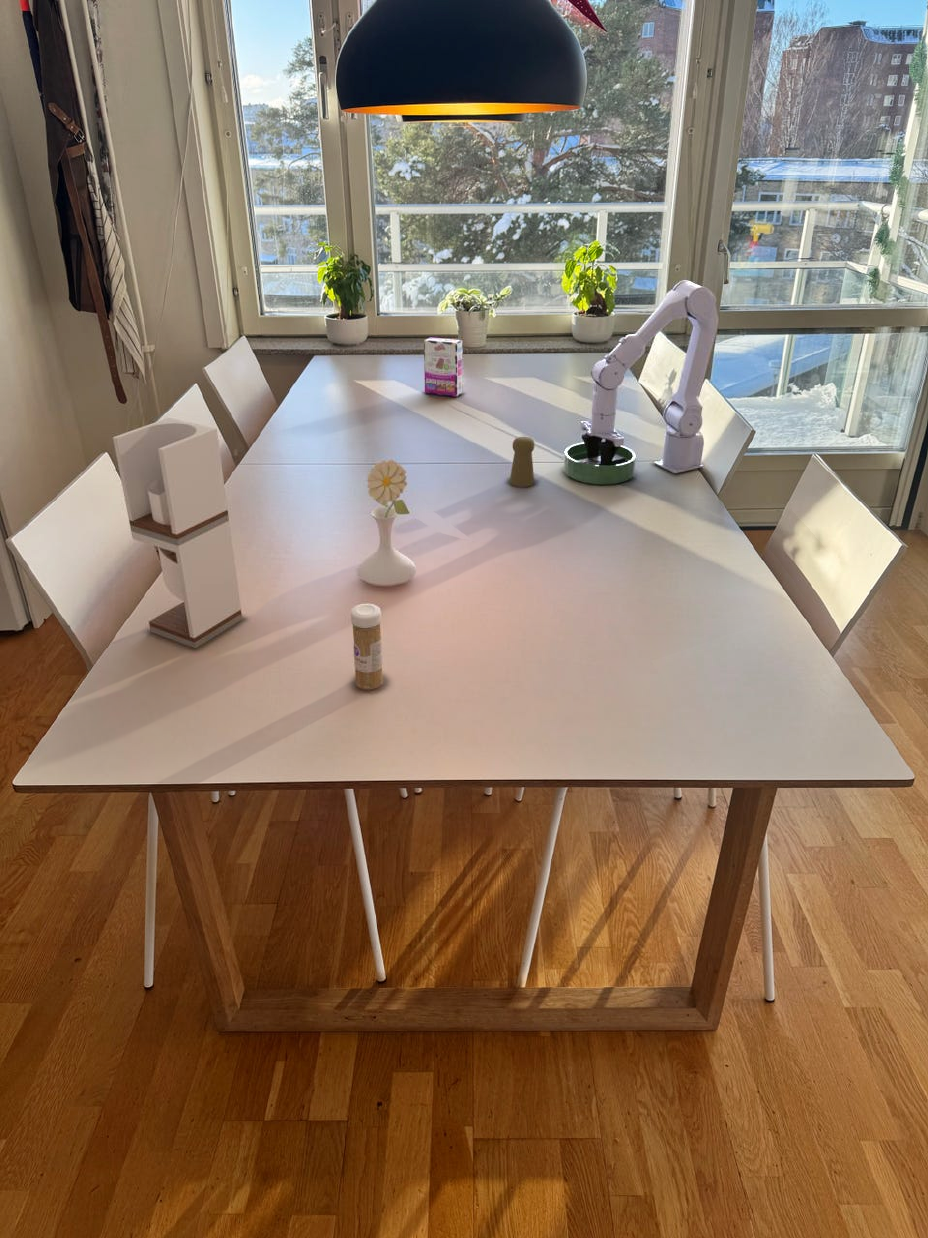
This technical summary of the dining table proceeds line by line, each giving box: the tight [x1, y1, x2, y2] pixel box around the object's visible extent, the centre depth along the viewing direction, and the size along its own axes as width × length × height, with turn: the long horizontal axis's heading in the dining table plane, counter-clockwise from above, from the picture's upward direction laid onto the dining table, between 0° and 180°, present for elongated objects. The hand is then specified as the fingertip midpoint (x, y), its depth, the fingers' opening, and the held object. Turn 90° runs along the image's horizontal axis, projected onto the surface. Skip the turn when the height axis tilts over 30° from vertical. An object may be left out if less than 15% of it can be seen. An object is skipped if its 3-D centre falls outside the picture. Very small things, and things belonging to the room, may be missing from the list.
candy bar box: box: [423, 336, 464, 398], centre depth 277 cm, size 11×5×16 cm, turn 67°
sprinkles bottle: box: [350, 603, 384, 691], centre depth 140 cm, size 5×5×13 cm
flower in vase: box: [356, 459, 417, 588], centre depth 167 cm, size 13×11×25 cm
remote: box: [577, 454, 625, 465], centre depth 222 cm, size 12×4×3 cm, turn 120°
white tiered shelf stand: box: [112, 417, 243, 649], centre depth 149 cm, size 11×11×35 cm
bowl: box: [563, 442, 637, 486], centre depth 222 cm, size 17×17×5 cm
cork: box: [509, 436, 535, 488], centre depth 215 cm, size 6×6×11 cm
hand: (598, 465), depth 222 cm, fingers closed on remote, 4 cm apart
